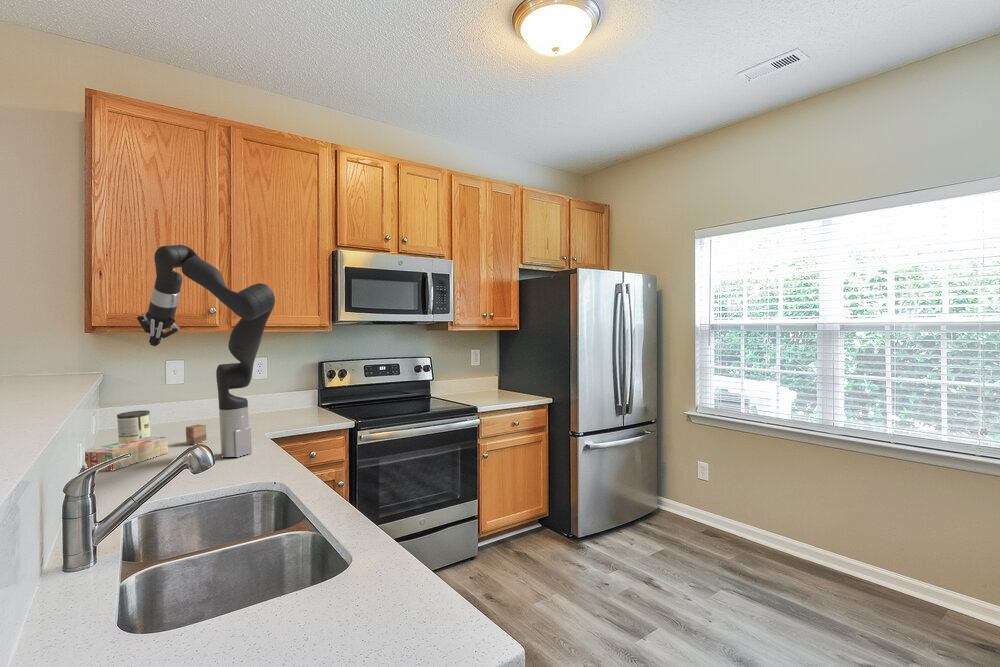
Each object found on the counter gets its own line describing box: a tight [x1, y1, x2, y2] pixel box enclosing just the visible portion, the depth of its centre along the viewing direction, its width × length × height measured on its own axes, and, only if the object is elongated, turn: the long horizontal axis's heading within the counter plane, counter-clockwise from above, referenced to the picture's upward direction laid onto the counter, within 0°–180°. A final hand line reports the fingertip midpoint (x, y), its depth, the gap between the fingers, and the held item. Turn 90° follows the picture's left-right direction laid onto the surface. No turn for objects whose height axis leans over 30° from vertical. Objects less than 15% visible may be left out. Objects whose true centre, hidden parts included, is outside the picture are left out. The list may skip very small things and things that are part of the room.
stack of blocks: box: [85, 436, 169, 472], centre depth 174 cm, size 21×6×12 cm
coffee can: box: [116, 409, 152, 443], centre depth 192 cm, size 10×10×14 cm
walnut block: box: [185, 423, 208, 446], centre depth 198 cm, size 5×5×7 cm
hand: (154, 344), depth 167 cm, fingers closed
